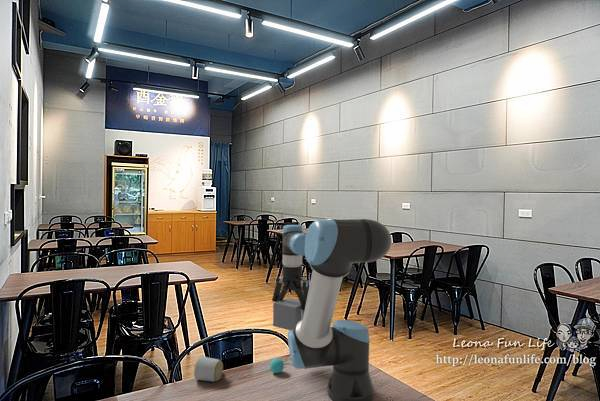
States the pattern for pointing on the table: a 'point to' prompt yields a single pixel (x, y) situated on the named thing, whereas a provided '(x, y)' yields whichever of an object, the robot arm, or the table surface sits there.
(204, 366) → the ceramic mug
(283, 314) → the grey cube
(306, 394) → the table surface
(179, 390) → the table surface
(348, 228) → the robot arm
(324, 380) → the table surface
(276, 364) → the ball
